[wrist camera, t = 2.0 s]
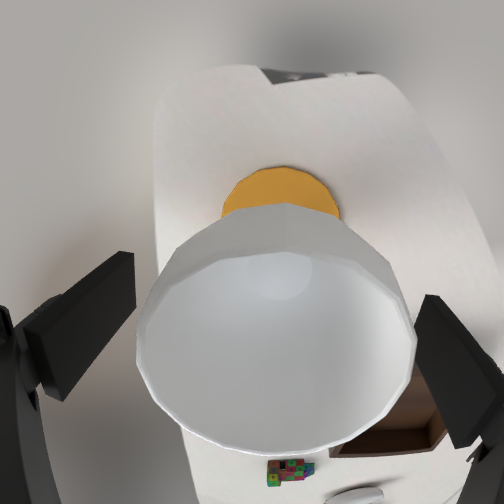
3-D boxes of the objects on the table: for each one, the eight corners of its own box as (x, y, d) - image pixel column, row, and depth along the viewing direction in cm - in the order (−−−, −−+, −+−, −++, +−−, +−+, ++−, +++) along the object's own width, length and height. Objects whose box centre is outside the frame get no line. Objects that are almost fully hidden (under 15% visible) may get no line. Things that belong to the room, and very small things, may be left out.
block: (271, 474, 35) (269, 493, 32) (268, 460, 34) (266, 481, 31) (314, 471, 34) (314, 491, 31) (314, 458, 33) (314, 479, 30)
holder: (364, 340, 26) (374, 369, 22) (475, 345, 25) (491, 368, 22) (326, 431, 31) (329, 457, 27) (424, 428, 30) (432, 451, 27)
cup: (220, 278, 25) (150, 444, 10) (221, 164, 22) (100, 217, 7) (333, 285, 24) (378, 459, 9) (346, 171, 21) (467, 240, 6)
